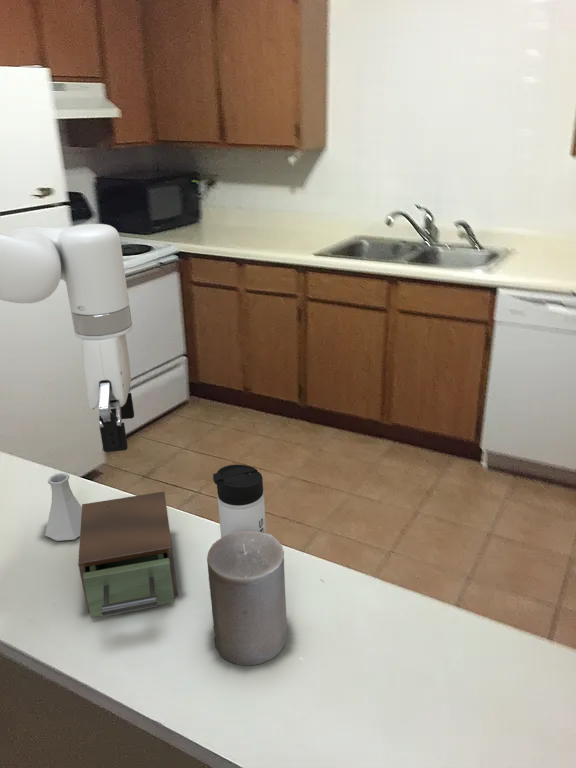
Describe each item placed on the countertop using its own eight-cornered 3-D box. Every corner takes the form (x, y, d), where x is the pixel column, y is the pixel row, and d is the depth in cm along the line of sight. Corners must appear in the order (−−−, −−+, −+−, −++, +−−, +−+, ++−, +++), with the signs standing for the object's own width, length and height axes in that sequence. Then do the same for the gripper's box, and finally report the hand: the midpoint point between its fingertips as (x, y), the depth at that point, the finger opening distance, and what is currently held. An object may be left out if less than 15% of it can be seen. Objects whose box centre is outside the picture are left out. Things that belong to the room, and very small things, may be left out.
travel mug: (218, 583, 98) (207, 465, 90) (261, 571, 100) (254, 455, 92) (230, 611, 93) (219, 489, 85) (275, 598, 95) (268, 478, 87)
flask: (37, 539, 109) (25, 487, 105) (61, 514, 116) (50, 464, 112) (77, 544, 108) (66, 492, 104) (98, 518, 114) (89, 468, 110)
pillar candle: (199, 648, 87) (189, 555, 81) (241, 602, 94) (234, 513, 88) (262, 677, 82) (256, 581, 76) (301, 626, 90) (298, 534, 84)
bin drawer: (178, 628, 89) (172, 588, 86) (89, 646, 87) (81, 605, 84) (167, 544, 106) (162, 508, 103) (93, 557, 103) (86, 520, 101)
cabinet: (178, 595, 96) (172, 547, 93) (87, 612, 94) (78, 563, 90) (170, 535, 109) (164, 491, 106) (90, 549, 107) (82, 504, 103)
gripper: (84, 303, 96) (101, 409, 103) (60, 344, 81) (83, 466, 88) (136, 299, 97) (150, 405, 104) (123, 340, 81) (141, 461, 88)
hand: (119, 433), depth 96 cm, fingers open, 9 cm apart
